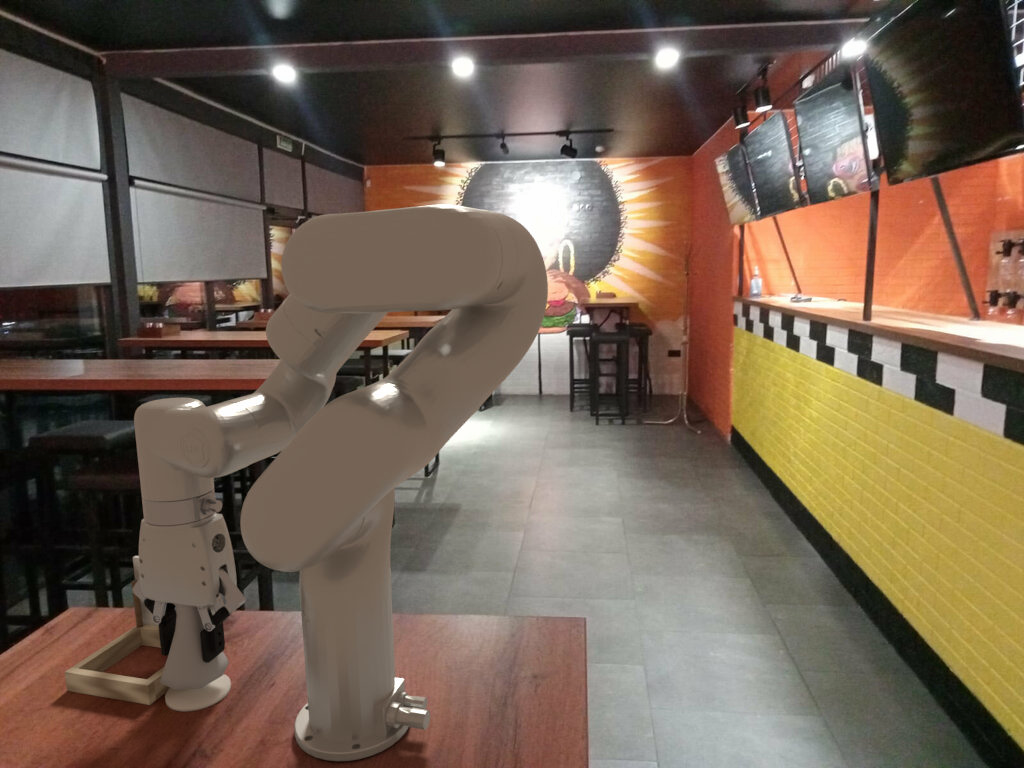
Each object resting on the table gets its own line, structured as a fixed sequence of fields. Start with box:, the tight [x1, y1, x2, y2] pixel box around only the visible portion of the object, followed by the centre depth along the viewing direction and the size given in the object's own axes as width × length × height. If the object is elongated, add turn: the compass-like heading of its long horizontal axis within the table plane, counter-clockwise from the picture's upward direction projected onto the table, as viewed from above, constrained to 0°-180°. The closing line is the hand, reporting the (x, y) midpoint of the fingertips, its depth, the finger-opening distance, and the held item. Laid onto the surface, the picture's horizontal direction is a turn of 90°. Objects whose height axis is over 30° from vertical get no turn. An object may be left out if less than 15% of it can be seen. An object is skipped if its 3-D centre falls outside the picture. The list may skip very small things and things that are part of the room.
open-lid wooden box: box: [64, 555, 215, 706], centre depth 90 cm, size 12×13×12 cm
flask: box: [160, 603, 230, 690], centre depth 85 cm, size 7×7×10 cm
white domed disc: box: [164, 674, 232, 713], centre depth 86 cm, size 7×7×1 cm
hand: (193, 651), depth 85 cm, fingers closed on flask, 5 cm apart
